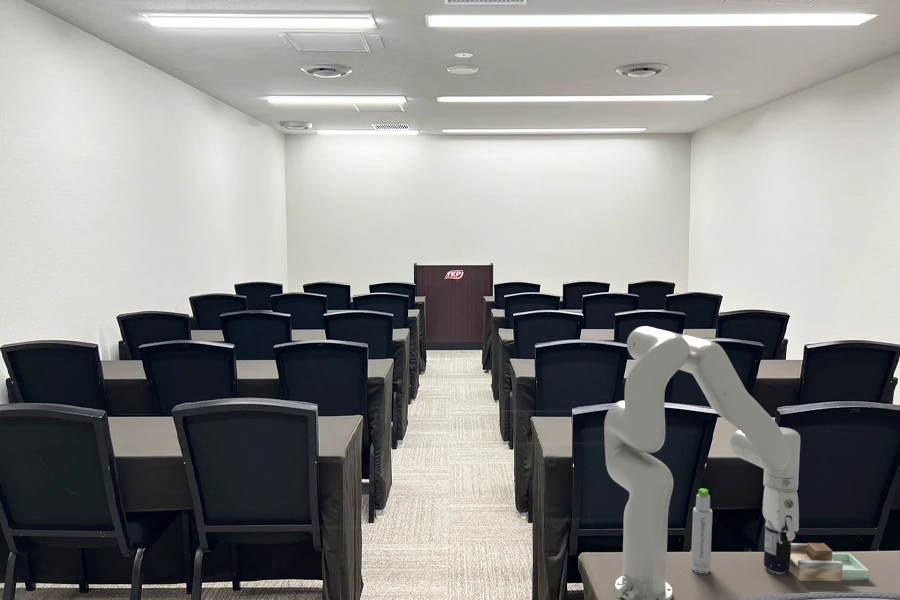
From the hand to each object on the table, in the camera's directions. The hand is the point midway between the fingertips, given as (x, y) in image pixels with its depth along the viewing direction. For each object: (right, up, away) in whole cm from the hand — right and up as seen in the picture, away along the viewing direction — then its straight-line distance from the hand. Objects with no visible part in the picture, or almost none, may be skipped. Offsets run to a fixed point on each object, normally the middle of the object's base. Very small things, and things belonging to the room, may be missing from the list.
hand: (777, 551), depth 170 cm
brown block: (+10, -2, 0) cm, 10 cm away
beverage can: (0, -5, +1) cm, 5 cm away
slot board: (+8, -5, 0) cm, 9 cm away
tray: (+16, -5, 0) cm, 17 cm away
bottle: (-18, -5, +1) cm, 19 cm away
